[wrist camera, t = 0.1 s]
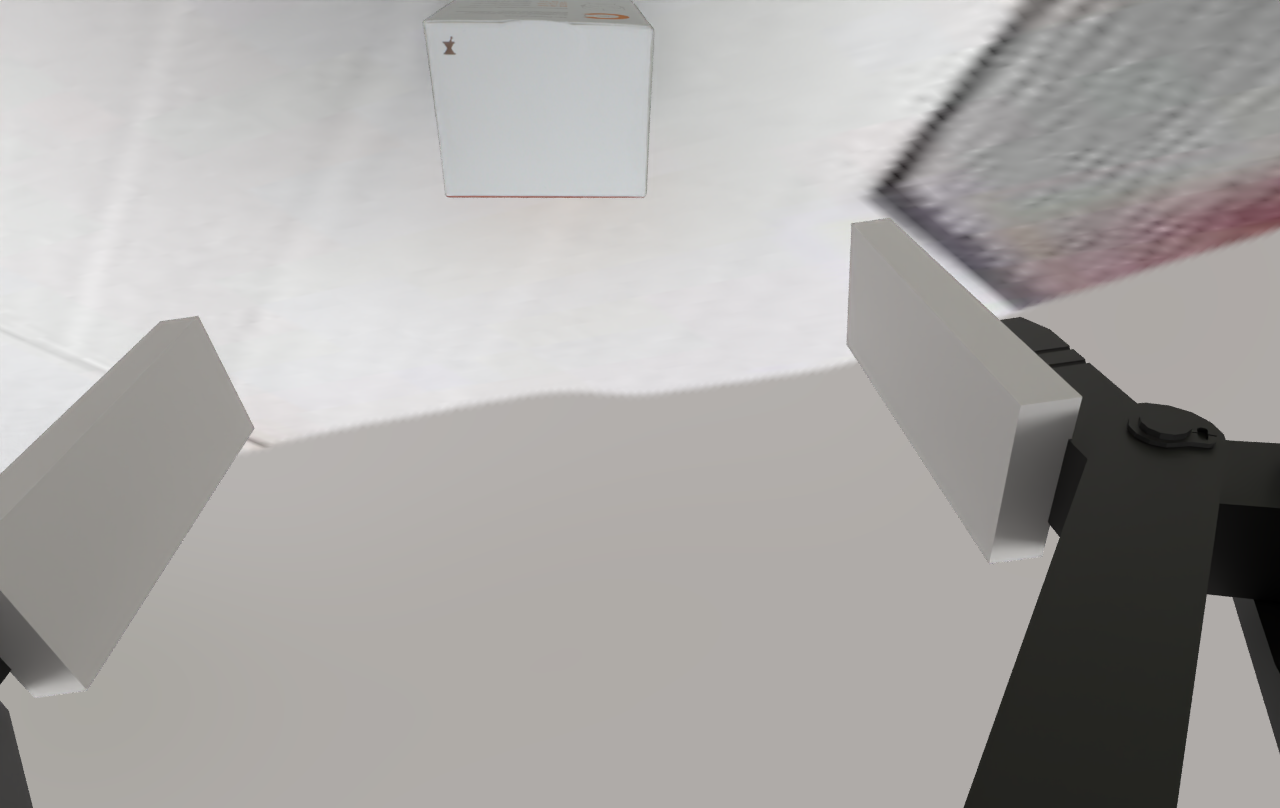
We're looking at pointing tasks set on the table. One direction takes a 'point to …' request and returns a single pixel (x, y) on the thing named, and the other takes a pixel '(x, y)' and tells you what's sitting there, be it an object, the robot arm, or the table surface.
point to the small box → (542, 97)
